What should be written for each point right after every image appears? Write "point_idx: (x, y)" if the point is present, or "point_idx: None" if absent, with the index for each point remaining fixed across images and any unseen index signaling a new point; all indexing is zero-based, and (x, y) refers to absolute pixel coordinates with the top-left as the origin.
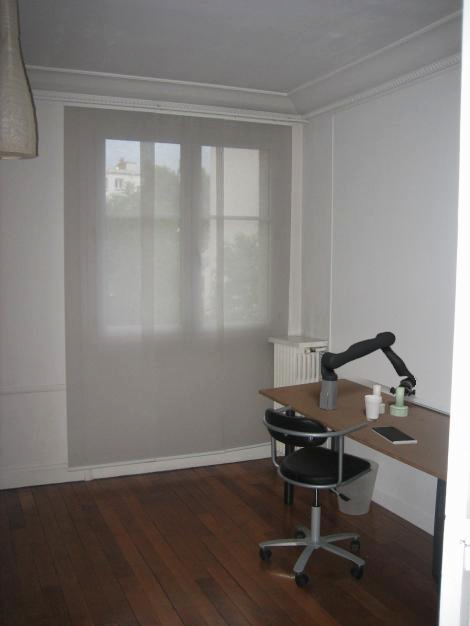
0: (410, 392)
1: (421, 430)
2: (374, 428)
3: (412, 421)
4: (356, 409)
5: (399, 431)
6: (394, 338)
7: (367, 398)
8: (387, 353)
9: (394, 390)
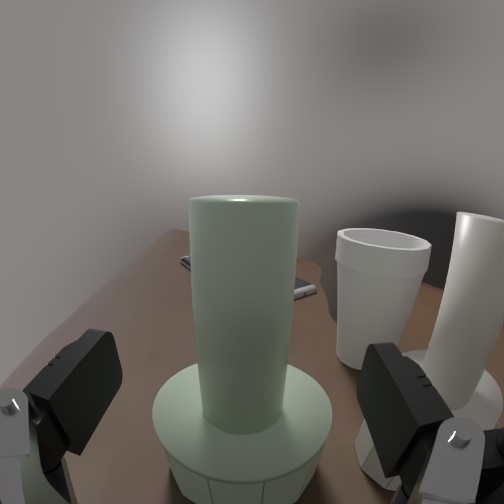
0: (40, 387)
1: (142, 312)
2: (299, 280)
3: (150, 394)
4: None
5: None
6: None
7: (390, 234)
8: None
9: (391, 368)
